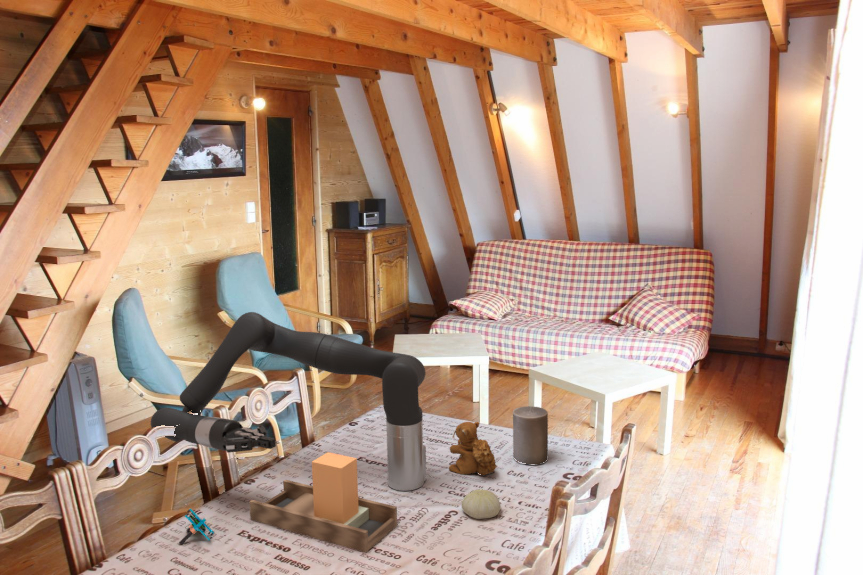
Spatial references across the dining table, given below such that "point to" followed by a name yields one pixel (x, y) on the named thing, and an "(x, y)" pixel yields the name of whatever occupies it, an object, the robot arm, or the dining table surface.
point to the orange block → (335, 487)
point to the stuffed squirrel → (471, 451)
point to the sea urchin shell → (481, 504)
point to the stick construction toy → (196, 526)
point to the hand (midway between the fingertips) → (273, 443)
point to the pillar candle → (530, 435)
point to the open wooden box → (298, 516)
